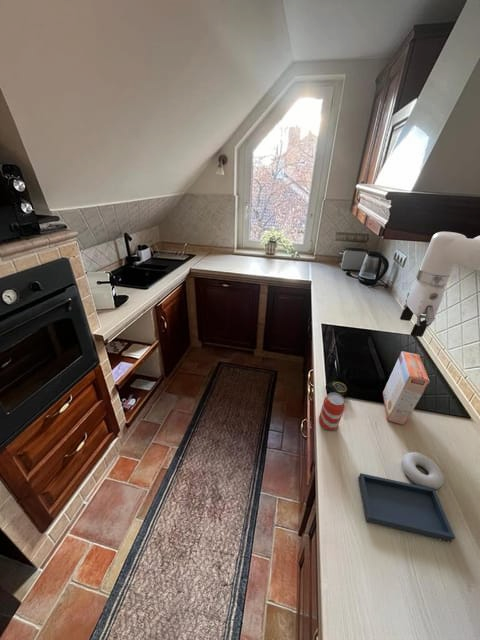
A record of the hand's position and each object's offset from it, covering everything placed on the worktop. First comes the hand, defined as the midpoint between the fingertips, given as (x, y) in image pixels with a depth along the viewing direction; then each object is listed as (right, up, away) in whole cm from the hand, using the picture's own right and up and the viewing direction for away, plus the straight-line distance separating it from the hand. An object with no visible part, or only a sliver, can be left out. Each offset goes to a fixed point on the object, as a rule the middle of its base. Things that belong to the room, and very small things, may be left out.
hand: (410, 327), depth 82 cm
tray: (-14, -46, -17) cm, 51 cm away
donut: (-3, -42, -9) cm, 43 cm away
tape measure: (-18, -26, +16) cm, 36 cm away
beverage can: (-25, -33, +5) cm, 42 cm away
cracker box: (+1, -30, +11) cm, 32 cm away
